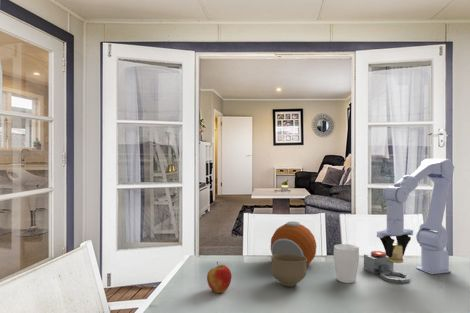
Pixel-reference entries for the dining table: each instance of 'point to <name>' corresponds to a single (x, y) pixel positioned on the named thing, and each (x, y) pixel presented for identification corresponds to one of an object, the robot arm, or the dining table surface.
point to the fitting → (396, 253)
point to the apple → (219, 278)
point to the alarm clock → (294, 241)
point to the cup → (346, 262)
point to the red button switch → (383, 267)
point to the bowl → (288, 268)
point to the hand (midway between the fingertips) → (395, 255)
